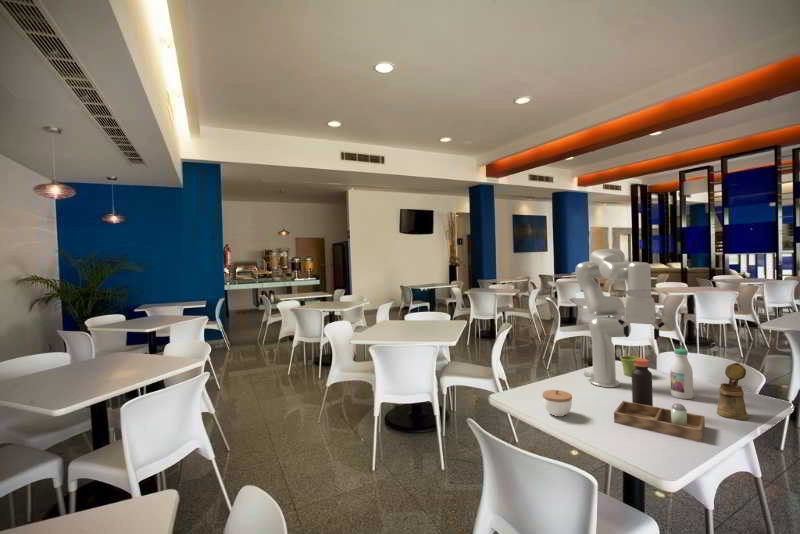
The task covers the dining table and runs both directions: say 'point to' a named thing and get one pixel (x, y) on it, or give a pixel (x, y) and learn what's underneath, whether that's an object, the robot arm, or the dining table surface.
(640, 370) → the vinegar
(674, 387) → the milk bottle
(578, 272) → the robot arm
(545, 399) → the lidded jar
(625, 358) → the plant pot
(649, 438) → the dining table surface
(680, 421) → the shaker
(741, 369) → the burlap money sack
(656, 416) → the caddy
